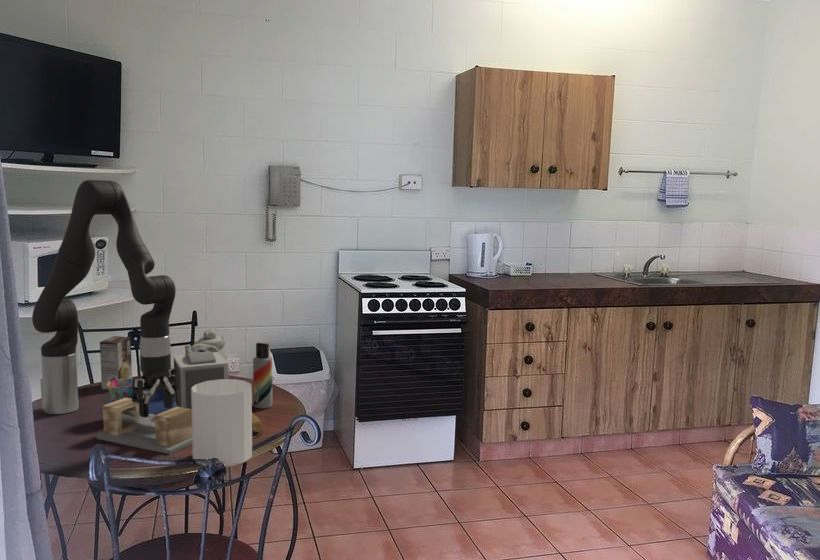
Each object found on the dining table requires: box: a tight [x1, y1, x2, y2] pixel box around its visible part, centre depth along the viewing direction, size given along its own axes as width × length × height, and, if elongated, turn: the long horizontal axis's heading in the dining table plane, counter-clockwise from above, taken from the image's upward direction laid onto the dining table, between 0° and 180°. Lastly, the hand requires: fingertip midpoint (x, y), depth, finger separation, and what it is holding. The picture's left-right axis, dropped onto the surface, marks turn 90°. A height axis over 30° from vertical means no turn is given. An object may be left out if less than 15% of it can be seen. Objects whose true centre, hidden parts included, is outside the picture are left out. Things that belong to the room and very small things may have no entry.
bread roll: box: [252, 412, 264, 440], centre depth 190 cm, size 10×10×8 cm
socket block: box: [154, 406, 192, 447], centre depth 181 cm, size 5×8×8 cm, turn 156°
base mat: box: [96, 428, 192, 455], centre depth 185 cm, size 25×12×1 cm, turn 66°
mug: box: [106, 378, 134, 414], centre depth 202 cm, size 12×9×11 cm
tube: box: [121, 410, 156, 431], centre depth 185 cm, size 16×5×5 cm, turn 66°
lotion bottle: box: [252, 342, 273, 409], centre depth 214 cm, size 6×6×20 cm
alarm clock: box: [173, 351, 230, 409], centre depth 206 cm, size 18×13×18 cm
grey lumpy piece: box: [184, 327, 228, 362], centre depth 236 cm, size 16×15×19 cm
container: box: [191, 378, 253, 468], centre depth 173 cm, size 14×14×18 cm
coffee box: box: [99, 335, 133, 391], centre depth 232 cm, size 9×6×16 cm
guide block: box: [102, 398, 139, 436], centre depth 188 cm, size 5×8×8 cm, turn 156°
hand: (156, 412), depth 183 cm, fingers open, 8 cm apart
